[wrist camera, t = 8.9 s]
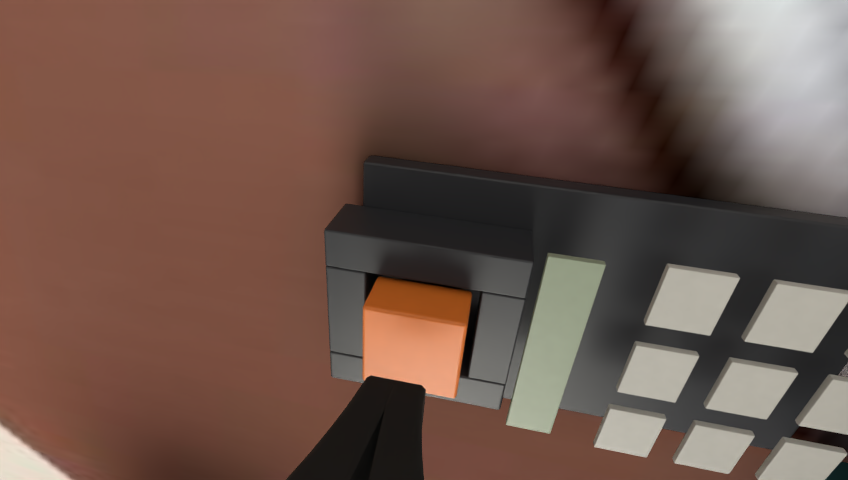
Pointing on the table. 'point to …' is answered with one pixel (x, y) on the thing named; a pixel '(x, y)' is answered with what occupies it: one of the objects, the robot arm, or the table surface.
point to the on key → (415, 334)
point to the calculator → (618, 290)
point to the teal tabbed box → (839, 472)
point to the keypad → (686, 367)
